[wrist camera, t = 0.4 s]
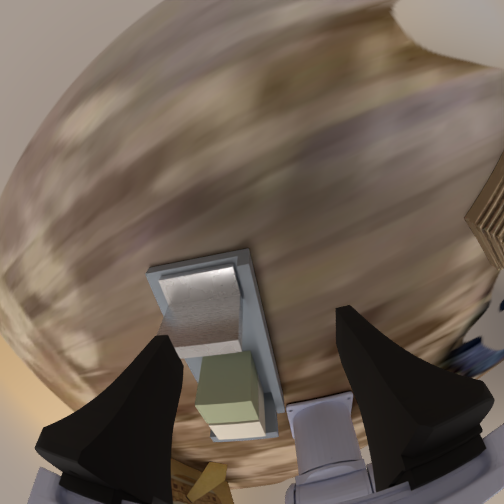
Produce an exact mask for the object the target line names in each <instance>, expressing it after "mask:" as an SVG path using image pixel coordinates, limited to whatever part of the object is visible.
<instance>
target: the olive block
mask: <svg viewBox="0 0 504 504" xmlns="http://www.w3.org/2000/svg"><path fill="white" fill-rule="evenodd" d="M195 406H196V408H197V409H198V411H199V412H200V414H201V415H202V417H203V418H204V420H205V421H206V423H226V422H240V421H250V420H259V410H258V382H257V370H256V366H255V363H254V360H253V357H252V354H251V351H244V352H237V353H229V354H221V355H213V356H204V357H203V358H202V364H201V370H200V376H199V382H198V388H197V394H196V401H195Z"/></svg>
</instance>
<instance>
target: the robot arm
mask: <svg viewBox="0 0 504 504" xmlns="http://www.w3.org/2000/svg"><path fill="white" fill-rule="evenodd" d="M336 344H337V348H338V352H339V356H340V359H341V363H342V365H343V368H344V370H345V373H346V375H347V378H348V380H349V383H350V385H351V388H352V390H353V393H354V395H355V398H356V400H357V403H358V405H359V408H360V411H361V415H362V419H363V423H364V427H365V431H366V436H367V440H368V445H369V450H370V455H371V461H372V463H370V464H367V470H366V466H365V462H364V459H362V456H361V452H360V448H359V444H358V441H357V437H356V433H355V430H354V426H353V423H352V419H351V408H352V400H353V393H352V392H345V393H342V394H337V395H333V396H329V397H324V398H320V399H315V400H310V401H305V402H300V403H294V404H289V405H287V406H286V411H287V415H288V419H289V423H290V427H291V432H292V436H293V438H294V439H295V446H296V455H297V463H298V472H299V476H296V477H295V479H296V483H292V484H291V485H290V486H289V488H288V489H287V491H286V495H285V504H484V503H485V502H486V501H488V500H489V499H490V498H491V497H493V496H494V495H495V494H497V493H498V492H499V491H501V490H502V489H503V488H504V423H503V424H502V425H501V426H500V427H498V428H497V429H495V430H494V431H492V432H491V433H490V434H488V435H487V436H486V437H484V438H483V439H482V437H481V436H480V433H481V432H482V428H481V426H480V423H481V421H482V420H483V419H484V418H485V416H486V415H487V414H488V412H489V411H490V409H491V408H492V406H493V404H494V398H493V396H492V394H491V393H490V391H489V389H488V388H487V386H486V385H485V384H484V382H483V381H481V380H477V379H473V378H469V377H465V376H461V375H458V374H455V373H452V372H449V371H446V370H444V369H441V368H439V367H437V366H435V365H432V364H430V363H428V362H426V361H424V360H422V359H420V358H418V357H416V356H415V355H413V354H411V353H410V352H408V351H406V350H405V349H403V348H402V347H400V346H399V345H397V344H396V343H394V342H393V341H392V340H390V339H389V338H388V337H386V336H385V335H384V334H382V333H381V332H380V331H379V330H378V329H376V328H375V327H374V326H373V325H372V324H370V323H369V322H368V321H367V320H366V319H365V318H364V317H362V316H361V315H360V314H359V313H358V312H357V311H356V310H355V309H354V308H353V307H352V306H350V305H348V306H343V307H339V308H336ZM183 368H184V366H183V364H182V362H181V360H180V358H179V356H178V354H177V352H176V350H175V348H174V346H173V344H172V342H171V340H170V338H169V336H168V335H158V336H155V337H154V338H153V339H152V340H151V341H150V342H149V343H148V345H147V346H146V347H145V348H144V349H143V350H142V351H141V353H140V354H139V355H138V356H137V357H136V358H135V359H134V361H133V362H132V363H131V364H130V365H129V366H128V367H127V368H126V369H125V370H124V371H123V372H122V374H121V375H120V376H119V377H118V378H117V379H116V380H115V381H114V382H113V383H112V384H111V385H110V386H109V387H107V388H106V389H105V390H104V391H103V392H102V393H100V394H99V395H98V396H97V397H96V398H94V399H93V400H92V401H90V402H89V403H87V404H86V405H85V406H83V407H82V408H80V409H79V410H77V411H76V412H74V413H72V414H71V415H69V416H67V417H65V418H63V419H61V420H59V421H57V422H55V423H53V424H51V425H48V426H46V427H44V428H43V429H42V432H41V434H40V436H39V439H38V441H37V443H36V446H35V450H36V451H37V453H38V454H39V455H41V456H42V457H43V458H44V459H45V460H47V461H48V462H49V463H51V464H52V465H53V466H55V467H56V468H58V469H59V470H61V471H62V472H63V473H62V476H59V475H58V474H56V473H54V472H51V471H49V470H47V469H45V468H43V467H40V468H39V471H38V473H37V476H36V479H35V482H34V485H33V488H32V491H31V494H30V497H29V500H28V503H27V504H173V497H172V486H171V445H172V433H173V426H174V421H175V417H176V412H177V407H178V403H179V398H180V393H181V389H182V382H183ZM367 472H368V473H367Z"/></svg>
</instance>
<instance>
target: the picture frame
mask: <svg viewBox="0 0 504 504" xmlns="http://www.w3.org/2000/svg"><path fill="white" fill-rule="evenodd" d="M226 470H227V465H226V464H221V463H214V462H209V463H208V465H207V466H206V468H205V469H204V471H203V472H200V471H198V470H196V469H193V468H191V467H189V466H187V465H185V464H182V463H180V462H178V461H176V460H174V459H172V458H171V486H172V497H173V504H234V502H233V499H232V495H231V492H230V488H229V484H228V482H226V481H224V480H225V477H226Z"/></svg>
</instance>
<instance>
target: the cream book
mask: <svg viewBox="0 0 504 504" xmlns="http://www.w3.org/2000/svg"><path fill="white" fill-rule="evenodd" d="M257 382H258V410H259V420H250V421H240V422H226V423H209V427H210V428H211V430H212V431H213V432H214V434H215V435H216V436H217V438H218V439H219V440H224V439H241V438H253V437H263V436H266V430H265V411H264V392H263V388H262V385H261V382H260V379H259V376H258V374H257Z"/></svg>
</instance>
